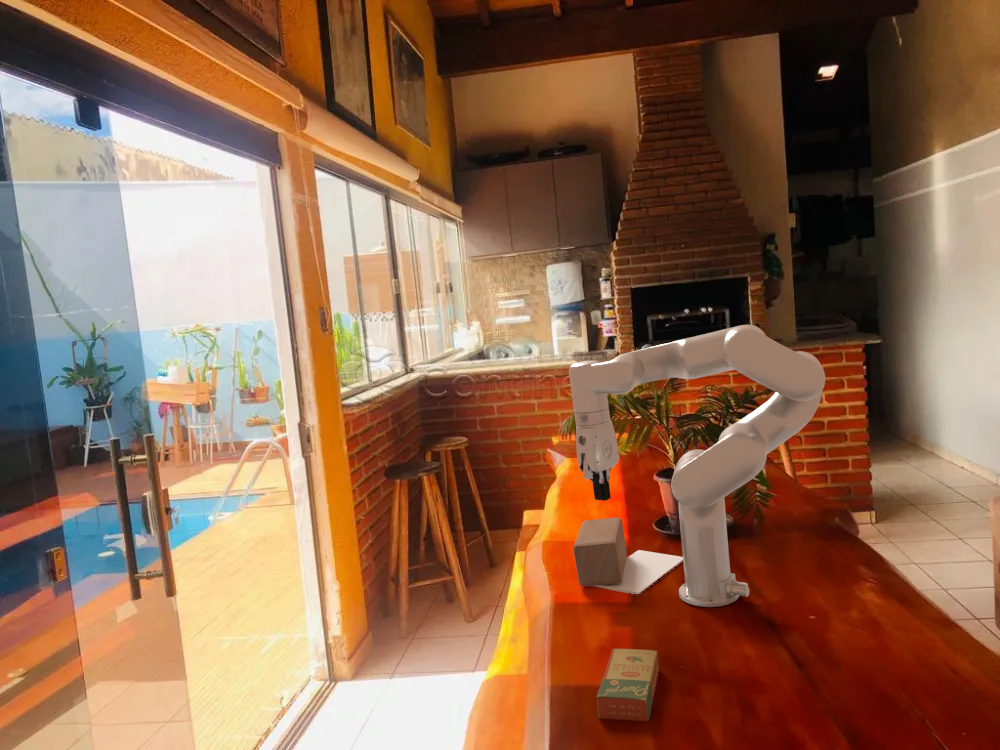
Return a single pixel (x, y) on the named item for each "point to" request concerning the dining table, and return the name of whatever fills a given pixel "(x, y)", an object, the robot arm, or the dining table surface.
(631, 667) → the carton
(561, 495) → the dining table surface
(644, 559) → the white mat
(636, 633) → the dining table surface
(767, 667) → the dining table surface
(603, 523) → the wooden block
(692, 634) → the dining table surface
